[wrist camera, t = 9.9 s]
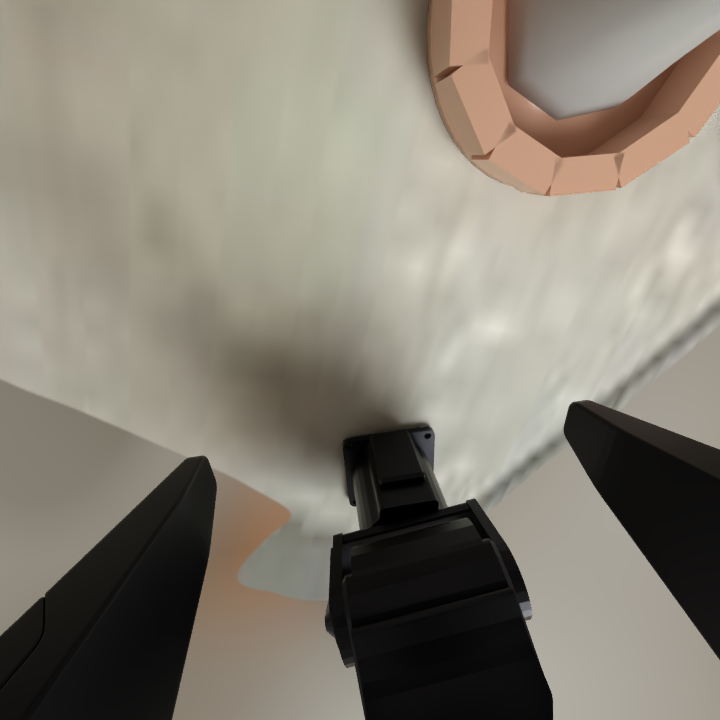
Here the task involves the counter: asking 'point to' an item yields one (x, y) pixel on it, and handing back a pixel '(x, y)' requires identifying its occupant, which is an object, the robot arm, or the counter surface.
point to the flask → (599, 48)
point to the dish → (539, 130)
